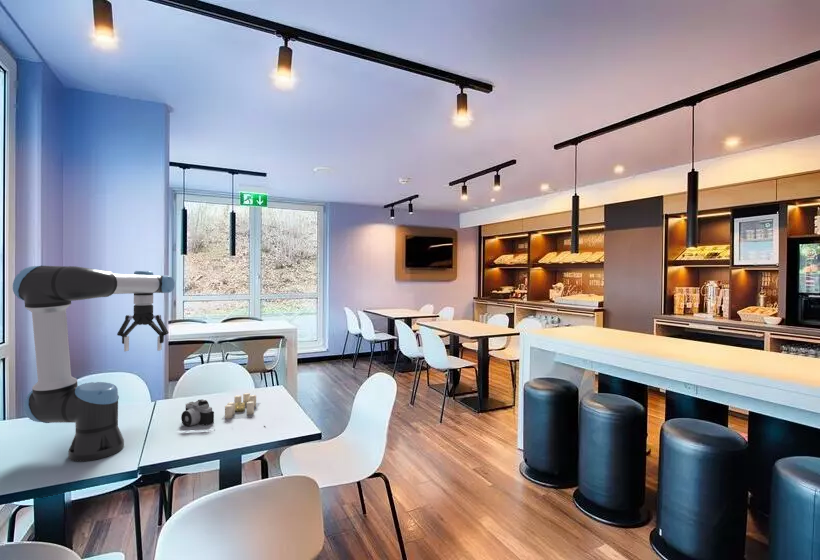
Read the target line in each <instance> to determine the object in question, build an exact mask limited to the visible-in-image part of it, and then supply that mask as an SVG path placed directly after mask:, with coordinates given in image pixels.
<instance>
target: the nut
mask: <svg viewBox="0 0 820 560" xmlns="http://www.w3.org/2000/svg"><path fill="white" fill-rule="evenodd" d="M243 411H245V403H243V401H241V402H240V403H236V404H235V412H243Z"/></svg>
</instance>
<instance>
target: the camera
mask: <svg viewBox="0 0 820 560" xmlns="http://www.w3.org/2000/svg"><path fill="white" fill-rule="evenodd" d="M180 420H181V422H182V423H181V424H183V426H184V427H192V426H195V425H198V424H199V425H202V426H209V425H212V424H214V423H215V412H214V411H213V407H212V406H210V404H209V402H208V400H207V399H198V400H196V401H195V402H194V401H189V402H188V403H187V402H186V403H185V410H184V411H183V412H182V413H181V418H180Z"/></svg>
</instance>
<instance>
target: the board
mask: <svg viewBox="0 0 820 560" xmlns="http://www.w3.org/2000/svg"><path fill="white" fill-rule="evenodd" d="M233 398H234V402H233V401H231V402H227V403H226V405H225V406H224V415H223V416H222V417H221V420H233V419H235V420H237V419H251V418H252V417H253V416H254V414H255V413H256V411H257V409H258V407H259V406H260V404H261V402H257V395H256V394H251V393H250V392H245V393H242V395H241V394H237V395H235V396H234V397H233ZM240 402H243V403H245V411H243V412H235V404H236V403H240Z"/></svg>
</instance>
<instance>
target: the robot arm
mask: <svg viewBox="0 0 820 560" xmlns="http://www.w3.org/2000/svg"><path fill="white" fill-rule="evenodd" d="M175 284H176V283H175V279H174V277H172V276H171V275H158V274H157V275H154V272H153V271H149V270H135V271H134V273H133V274H131V273H113V272H112V271H109V270H106V269H105V270H104V269H95V268H89V267H83V266H71V265H69V266H68V265H67V266H66V265H65V266H62V265H34V266H28V267H25V268H23V269H21V270H20V271H19V273H17V274H16V276H15V277H14V279H13V282H12V292H13V294H14V296H15V297H17V299H19V300H21V301H23V303H24V308H25V309H26V310H28V311H30V312H31V318H32V328H33V329H32V330H33V340H34V350H35V351H34V352H35V353H34V354H35V362H36V363H35V364H36V375H37V382H36V383H35V384H34V385H33V386H32V388H31V390H30V392H28V393H27V395H26V399H24V401H23V402H24V403H23V411H24V414H25V416H26V417H27V418H28V419H29V420H31V421H33V422H36V423H44V424H51V423H52V424H53V423H55V424H57V423H59V424H61V423H62V424H63V423H64V424H65V423H66V424H67V423H68V424H69V423H74V424H75V425H74V426H75V432H74V433H75V435H74V437H73V439H72V441H71V445H70V447H69V450H68V459H69V460H70V461H72V462H90V461H96V460H100V459H104V458H107V457H109V456H113V455H114V454H116V453H119V452H121V451H122V450H123V448H125V440H124V437H123V435H122V433H121V430H120V428H119V400H120V399H119V398H120V397H119V392H118V391H119V390H118V387H117V386H116V385H115V384H113V383H111V382H106V381H105V382H104V381H103V382H102V381H96V382H92V381H91V382H85V383H81V384H79V385H78V379H77V378H76V377H74V376H72V369H71V367H72V366H71V357H70V356H71V355H70V347H69V345H70V344H69V332H68V318H67V309H68V308H69V307H70V306H71V305H72V302H73V301H82V300H84V301H85V300H90V299H97V298H107V297H108V298H109V297H111V296H113V295H125V294H128V295H129V294H133V304H134V305H133V315H131V314H127V315H125V319H124V321H123V323H122V324H121V326H120V328H119V330H118V332H117V334H116V336H119V337H121V343H122V344H123V352H128V351H129V350H130V336H129V334H130V333H131V332H132V331H133V330H134V329H135V328H136V327H137V326H141V325H144V326H147V325H148V326H150V327H151V329H152V330H153V331H154V332H155V333H156V334H157V335H158V336H157V347H156V348H157V352H160V351H161V350H162V346H163V345H162V344H164V342H165V341H164V340H165V336H167V335H169V333H170V332H169V330H168V329H167V326H166V325H165V323H164V321H163V320H162V315H161V314H155V315H154V305H153V304H154V294H160V293H161V294H168V293H172V292H173V291H174V289H175ZM132 319H133V320H134V321H132ZM154 320H155V321H156V323H157V324H156V323H155V321H154ZM130 321H132V323H131V325H130V326H129V323H130ZM127 327H128V328H127Z"/></svg>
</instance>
